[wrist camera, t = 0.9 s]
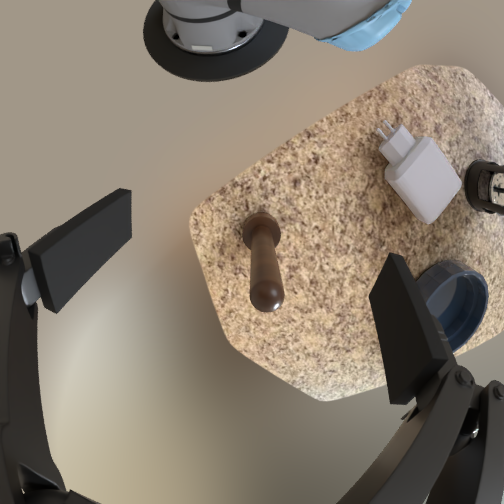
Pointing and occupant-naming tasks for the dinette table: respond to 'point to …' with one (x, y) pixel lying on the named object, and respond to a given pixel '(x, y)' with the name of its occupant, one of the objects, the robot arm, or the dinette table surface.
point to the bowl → (455, 299)
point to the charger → (418, 172)
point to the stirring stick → (264, 261)
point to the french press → (499, 191)
